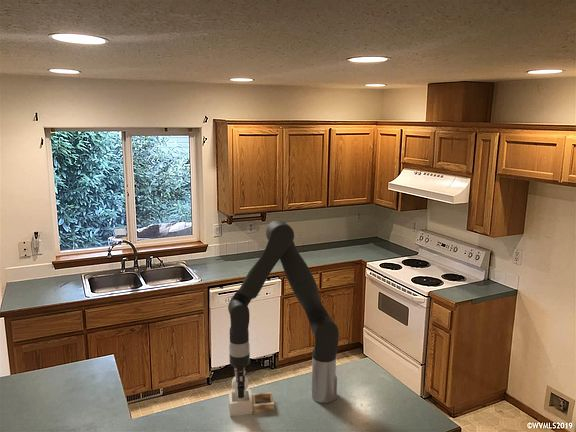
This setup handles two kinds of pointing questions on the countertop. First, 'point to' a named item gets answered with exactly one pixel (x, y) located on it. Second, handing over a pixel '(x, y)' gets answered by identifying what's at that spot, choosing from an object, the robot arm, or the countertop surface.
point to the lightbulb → (234, 385)
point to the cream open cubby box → (240, 403)
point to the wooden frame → (264, 406)
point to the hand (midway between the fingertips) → (240, 392)
